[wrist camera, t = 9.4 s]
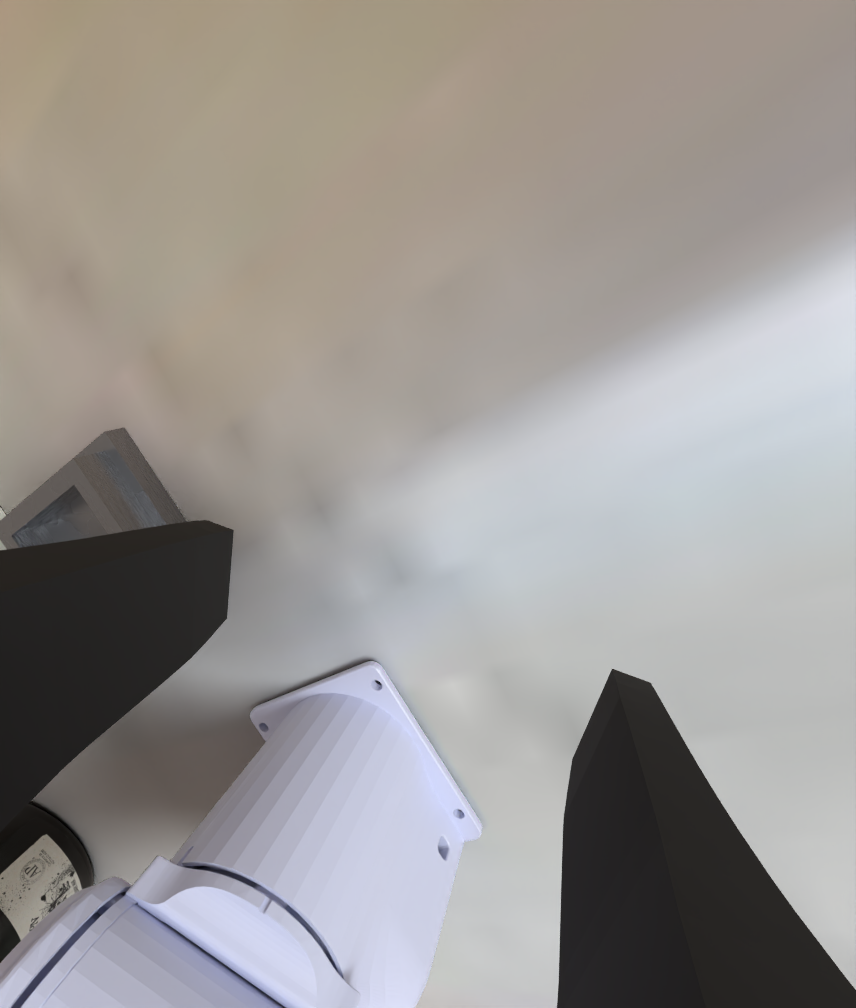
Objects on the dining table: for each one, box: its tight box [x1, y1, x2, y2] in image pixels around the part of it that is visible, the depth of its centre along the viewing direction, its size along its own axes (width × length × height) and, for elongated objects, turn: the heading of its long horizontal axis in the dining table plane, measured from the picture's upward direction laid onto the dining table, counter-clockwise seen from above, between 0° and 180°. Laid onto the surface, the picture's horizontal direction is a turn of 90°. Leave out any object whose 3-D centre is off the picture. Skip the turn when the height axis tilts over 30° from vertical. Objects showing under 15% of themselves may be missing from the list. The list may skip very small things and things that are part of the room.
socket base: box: [0, 428, 186, 549], centre depth 24 cm, size 8×8×2 cm
